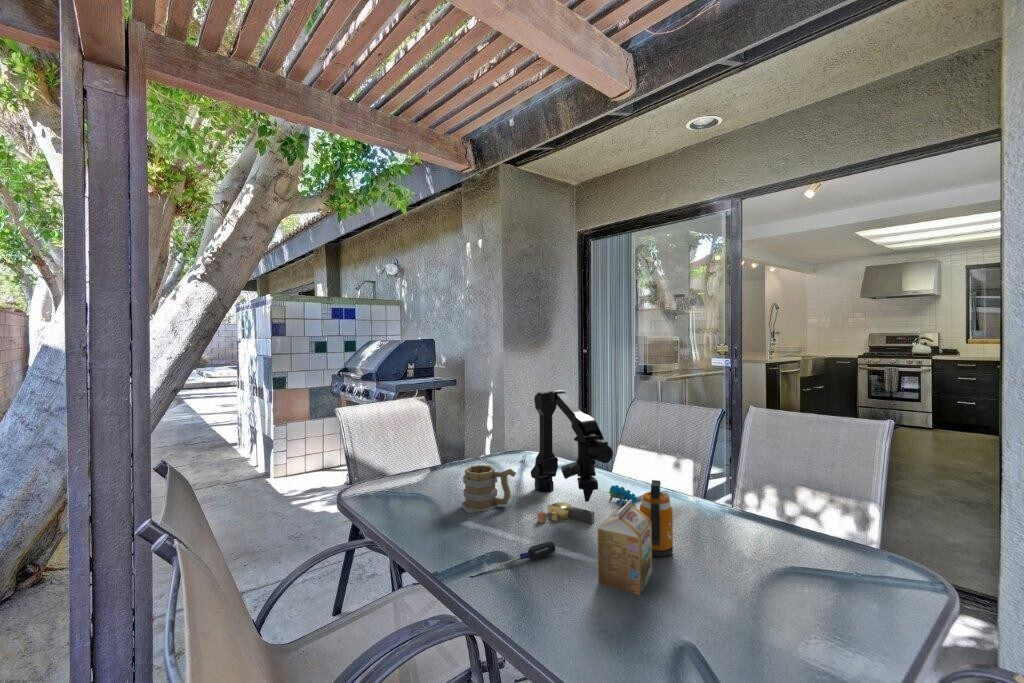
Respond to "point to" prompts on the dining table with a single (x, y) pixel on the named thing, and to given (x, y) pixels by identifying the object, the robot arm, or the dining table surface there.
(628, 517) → the milk carton
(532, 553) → the screwdriver
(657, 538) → the canister
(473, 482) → the tankard
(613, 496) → the blue branched piece
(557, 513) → the gold lugged knob
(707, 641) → the dining table surface
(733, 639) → the dining table surface
